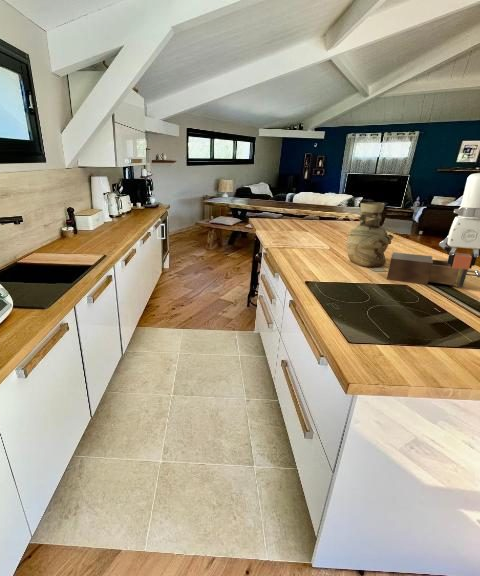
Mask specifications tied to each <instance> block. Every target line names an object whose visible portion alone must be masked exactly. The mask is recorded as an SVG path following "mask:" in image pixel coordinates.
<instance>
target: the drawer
mask: <svg viewBox="0 0 480 576" xmlns="http://www.w3.org/2000/svg"><path fill="white" fill-rule="evenodd" d="M432 260H433V265H432V269H431V273H430V277H429V281H428V283H434V284H441V285H442V284H443V285H450V286H455V285H456V284H457V286H458V288H461V289H462V288H463V287H464V284H465V281H466V277H467V276H470V277H476V278H478V279H480V270H478V269H476V270H471V269H470V270H468V269H457V268H452V267H450V266H449V264H447V261H448V260H441V259H433V258H432Z"/></svg>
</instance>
